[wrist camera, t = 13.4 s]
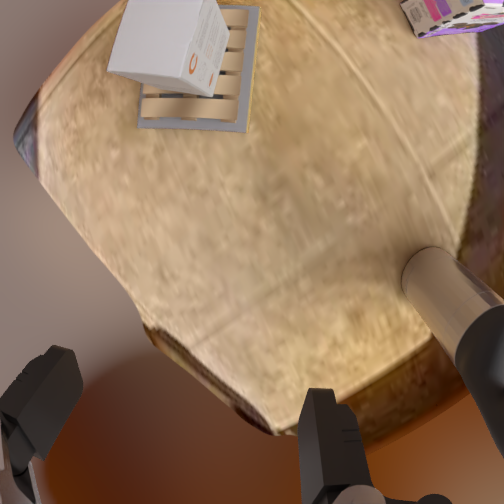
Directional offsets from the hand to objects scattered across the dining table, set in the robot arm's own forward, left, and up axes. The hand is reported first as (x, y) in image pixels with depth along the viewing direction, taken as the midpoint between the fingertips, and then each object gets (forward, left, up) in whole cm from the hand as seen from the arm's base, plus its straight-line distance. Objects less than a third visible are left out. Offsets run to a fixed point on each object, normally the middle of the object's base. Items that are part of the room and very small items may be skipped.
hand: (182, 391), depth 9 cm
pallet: (+7, -16, -29) cm, 34 cm away
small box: (+7, -16, -28) cm, 33 cm away
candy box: (-25, -31, -32) cm, 51 cm away
